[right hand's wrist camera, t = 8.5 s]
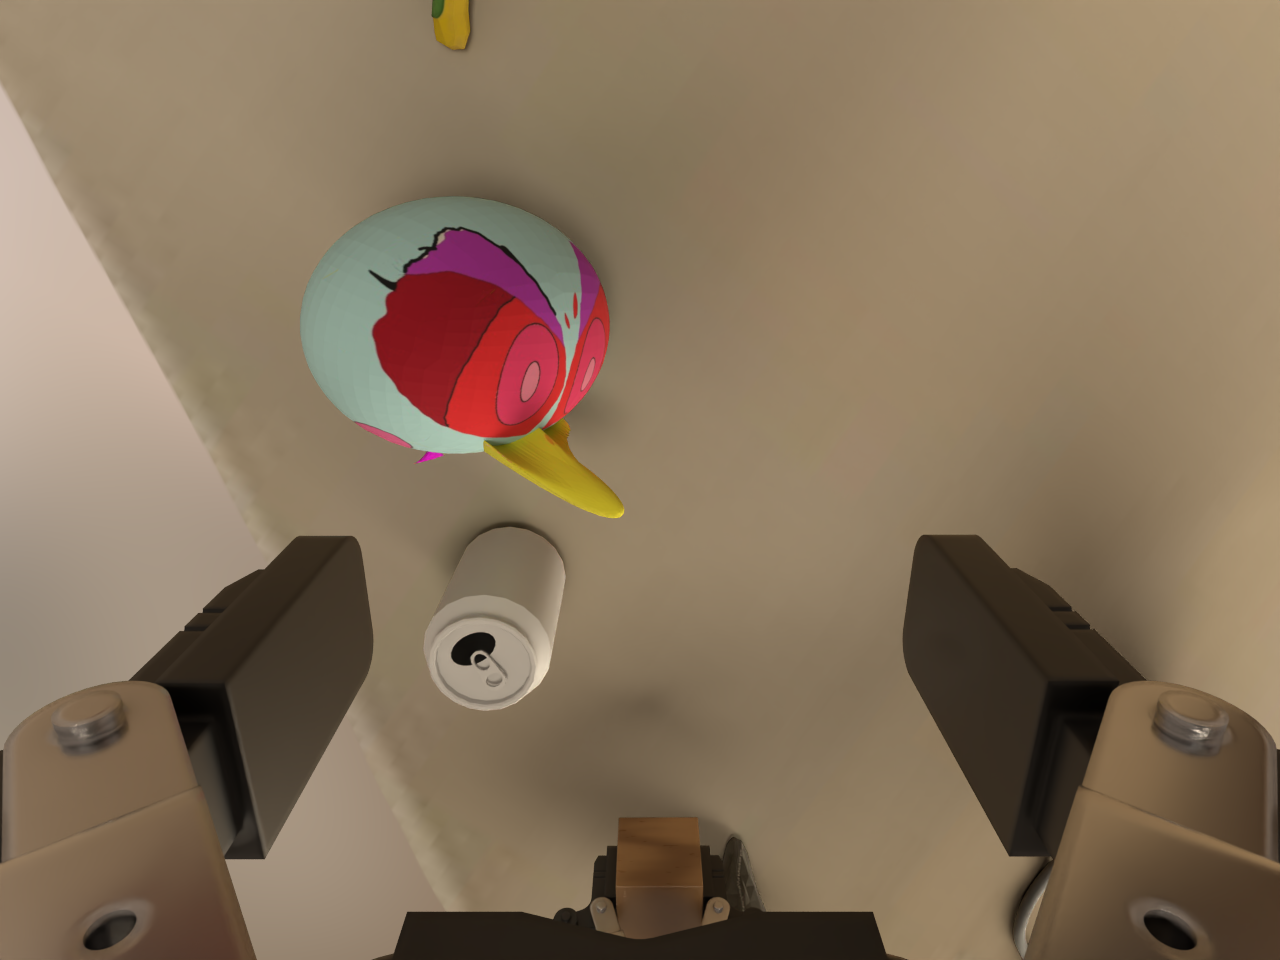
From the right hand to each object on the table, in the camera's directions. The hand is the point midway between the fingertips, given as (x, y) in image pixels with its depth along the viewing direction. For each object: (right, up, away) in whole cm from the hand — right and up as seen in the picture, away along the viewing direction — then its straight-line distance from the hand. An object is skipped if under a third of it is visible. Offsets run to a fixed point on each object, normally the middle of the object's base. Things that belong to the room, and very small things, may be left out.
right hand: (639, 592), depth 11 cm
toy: (-8, +11, +38) cm, 40 cm away
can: (-9, -5, +44) cm, 45 cm away
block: (+1, -20, +34) cm, 39 cm away
